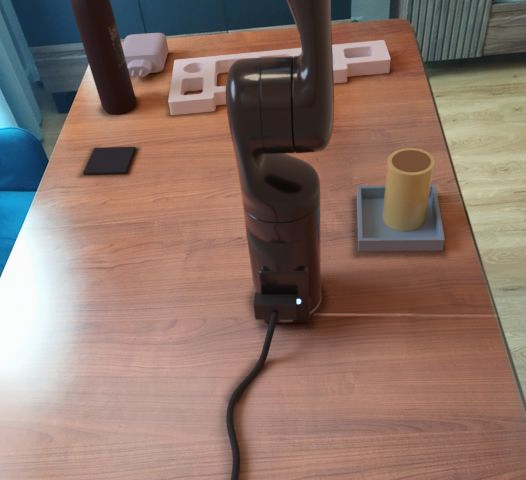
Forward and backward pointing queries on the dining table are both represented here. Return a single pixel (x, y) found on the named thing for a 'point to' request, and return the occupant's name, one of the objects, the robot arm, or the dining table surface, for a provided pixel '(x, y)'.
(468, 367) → the dining table surface
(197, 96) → the holder
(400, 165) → the cup
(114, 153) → the coaster
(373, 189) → the tray
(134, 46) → the charger
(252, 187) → the robot arm
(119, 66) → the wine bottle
